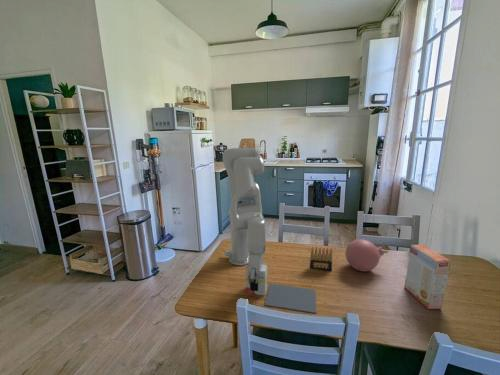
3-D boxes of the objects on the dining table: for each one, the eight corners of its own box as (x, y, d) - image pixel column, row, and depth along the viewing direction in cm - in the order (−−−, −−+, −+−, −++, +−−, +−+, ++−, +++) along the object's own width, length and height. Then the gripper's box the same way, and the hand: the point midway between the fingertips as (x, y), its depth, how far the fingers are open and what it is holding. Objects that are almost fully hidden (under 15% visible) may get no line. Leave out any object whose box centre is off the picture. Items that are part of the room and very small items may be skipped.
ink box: (245, 293, 104) (245, 268, 101) (248, 286, 108) (248, 262, 106) (265, 296, 102) (265, 271, 99) (267, 288, 107) (267, 264, 104)
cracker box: (442, 309, 93) (452, 260, 89) (427, 310, 93) (436, 261, 88) (416, 286, 107) (424, 243, 102) (403, 287, 107) (410, 244, 102)
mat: (264, 305, 96) (264, 304, 96) (269, 284, 110) (270, 283, 110) (316, 313, 92) (316, 312, 92) (315, 290, 105) (315, 289, 105)
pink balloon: (393, 278, 113) (398, 248, 110) (350, 277, 114) (353, 247, 111) (378, 261, 128) (382, 234, 125) (340, 260, 129) (342, 233, 126)
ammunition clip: (331, 269, 121) (332, 247, 119) (331, 271, 120) (333, 249, 117) (309, 267, 123) (310, 245, 121) (309, 269, 122) (310, 247, 119)
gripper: (252, 237, 109) (252, 271, 113) (242, 256, 93) (243, 294, 97) (268, 239, 108) (268, 273, 112) (261, 258, 91) (261, 297, 95)
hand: (256, 283), depth 104 cm, fingers open, 9 cm apart
